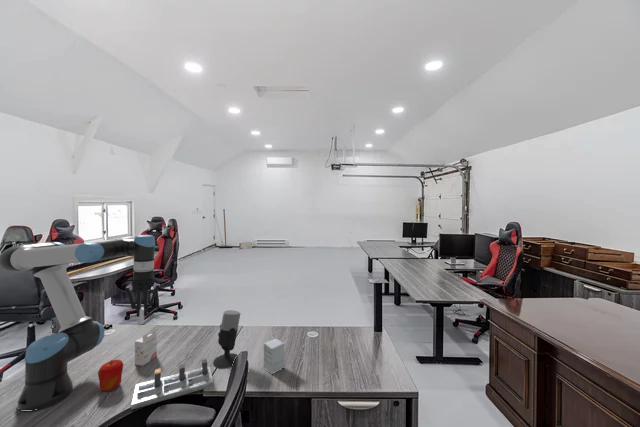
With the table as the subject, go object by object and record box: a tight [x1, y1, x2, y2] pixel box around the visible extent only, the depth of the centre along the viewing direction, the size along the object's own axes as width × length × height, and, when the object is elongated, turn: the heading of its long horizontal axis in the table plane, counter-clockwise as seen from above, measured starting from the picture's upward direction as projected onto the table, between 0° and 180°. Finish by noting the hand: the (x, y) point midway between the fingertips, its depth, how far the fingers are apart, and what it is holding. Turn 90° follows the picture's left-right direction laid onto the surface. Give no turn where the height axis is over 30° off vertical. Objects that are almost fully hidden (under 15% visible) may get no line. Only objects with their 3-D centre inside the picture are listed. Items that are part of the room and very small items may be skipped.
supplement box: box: [263, 338, 285, 373], centre depth 126 cm, size 7×7×13 cm
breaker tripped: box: [153, 368, 162, 387], centre depth 108 cm, size 3×3×7 cm
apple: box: [97, 359, 124, 392], centre depth 110 cm, size 9×8×12 cm
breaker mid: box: [178, 363, 186, 381], centre depth 112 cm, size 3×3×6 cm
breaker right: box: [200, 358, 208, 375], centre depth 116 cm, size 3×3×6 cm
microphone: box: [212, 310, 241, 370], centre depth 131 cm, size 13×13×25 cm
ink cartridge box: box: [134, 328, 158, 367], centre depth 130 cm, size 9×5×15 cm, turn 168°
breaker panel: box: [130, 365, 214, 410], centre depth 111 cm, size 29×13×4 cm, turn 119°
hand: (141, 323), depth 114 cm, fingers closed
